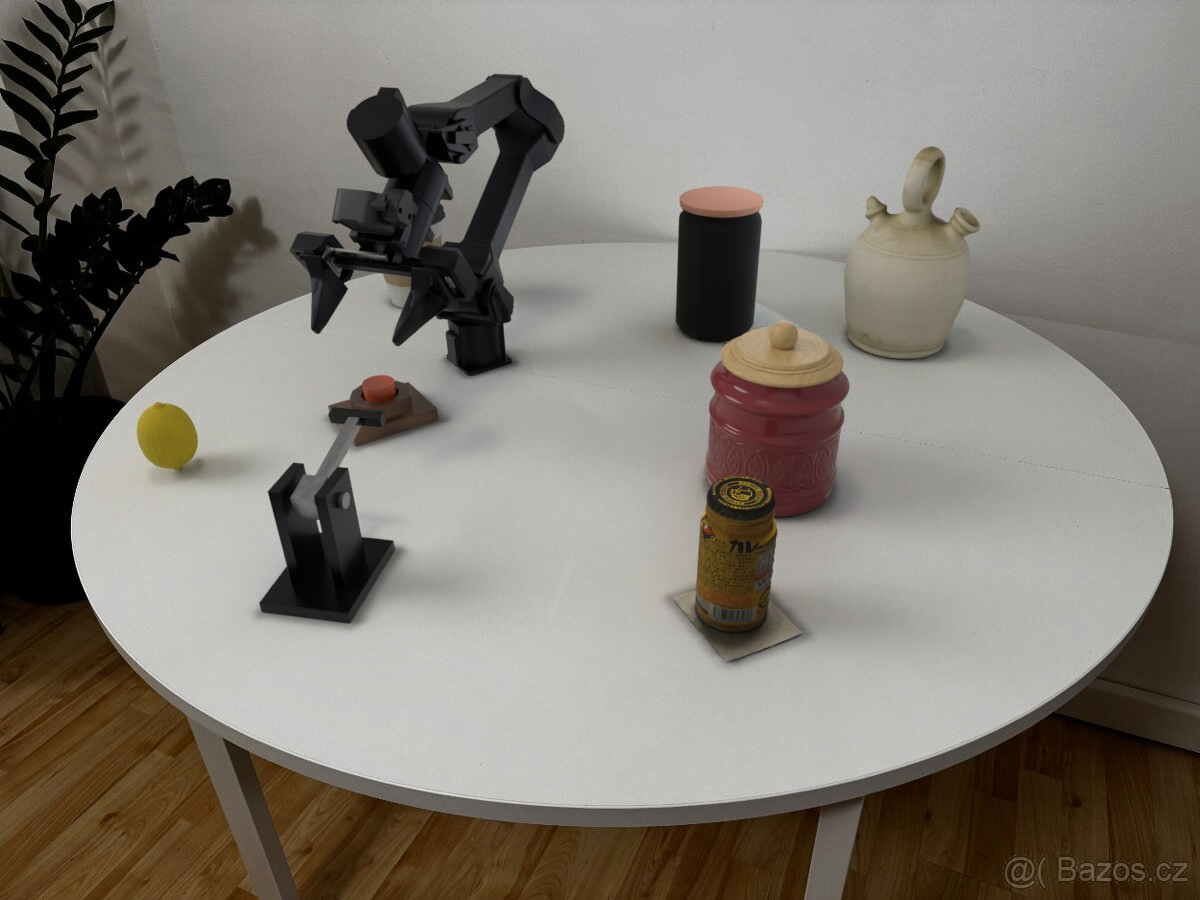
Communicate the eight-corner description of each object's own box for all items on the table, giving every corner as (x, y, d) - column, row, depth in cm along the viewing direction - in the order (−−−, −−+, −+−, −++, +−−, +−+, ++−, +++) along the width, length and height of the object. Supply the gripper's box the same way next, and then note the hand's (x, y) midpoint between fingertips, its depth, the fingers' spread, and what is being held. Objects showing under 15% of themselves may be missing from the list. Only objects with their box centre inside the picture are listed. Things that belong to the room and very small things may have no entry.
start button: (389, 385, 103) (386, 371, 102) (401, 397, 101) (399, 383, 100) (359, 394, 102) (356, 380, 101) (371, 406, 99) (369, 392, 98)
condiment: (743, 574, 79) (754, 459, 72) (802, 634, 72) (819, 515, 66) (671, 599, 76) (676, 483, 70) (726, 664, 70) (736, 542, 63)
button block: (410, 394, 108) (406, 368, 106) (439, 421, 102) (435, 394, 101) (330, 418, 103) (324, 391, 102) (355, 448, 98) (350, 420, 96)
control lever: (337, 420, 83) (330, 401, 81) (388, 425, 82) (382, 405, 80) (281, 516, 74) (273, 496, 73) (338, 522, 74) (330, 502, 72)
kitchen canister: (823, 531, 84) (848, 362, 74) (689, 505, 88) (697, 341, 78) (841, 460, 94) (865, 304, 85) (721, 439, 98) (731, 288, 89)
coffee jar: (765, 322, 124) (777, 193, 115) (732, 351, 117) (742, 215, 107) (697, 307, 129) (702, 181, 120) (661, 333, 122) (664, 202, 112)
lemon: (186, 486, 92) (165, 419, 88) (138, 480, 93) (115, 414, 89) (216, 457, 96) (197, 392, 92) (170, 452, 97) (149, 388, 93)
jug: (981, 345, 117) (1026, 149, 104) (902, 377, 110) (940, 171, 97) (888, 307, 128) (919, 126, 115) (811, 334, 121) (834, 144, 107)
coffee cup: (448, 314, 128) (436, 211, 120) (369, 314, 128) (352, 211, 121) (459, 284, 138) (449, 187, 130) (386, 285, 138) (371, 187, 130)
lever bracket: (315, 541, 84) (292, 443, 78) (395, 550, 82) (378, 451, 77) (261, 613, 75) (231, 509, 70) (350, 624, 74) (327, 520, 68)
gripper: (291, 148, 88) (228, 281, 83) (460, 162, 83) (404, 305, 78) (344, 218, 98) (290, 341, 93) (497, 234, 93) (450, 365, 88)
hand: (354, 337), depth 88 cm, fingers open, 9 cm apart
